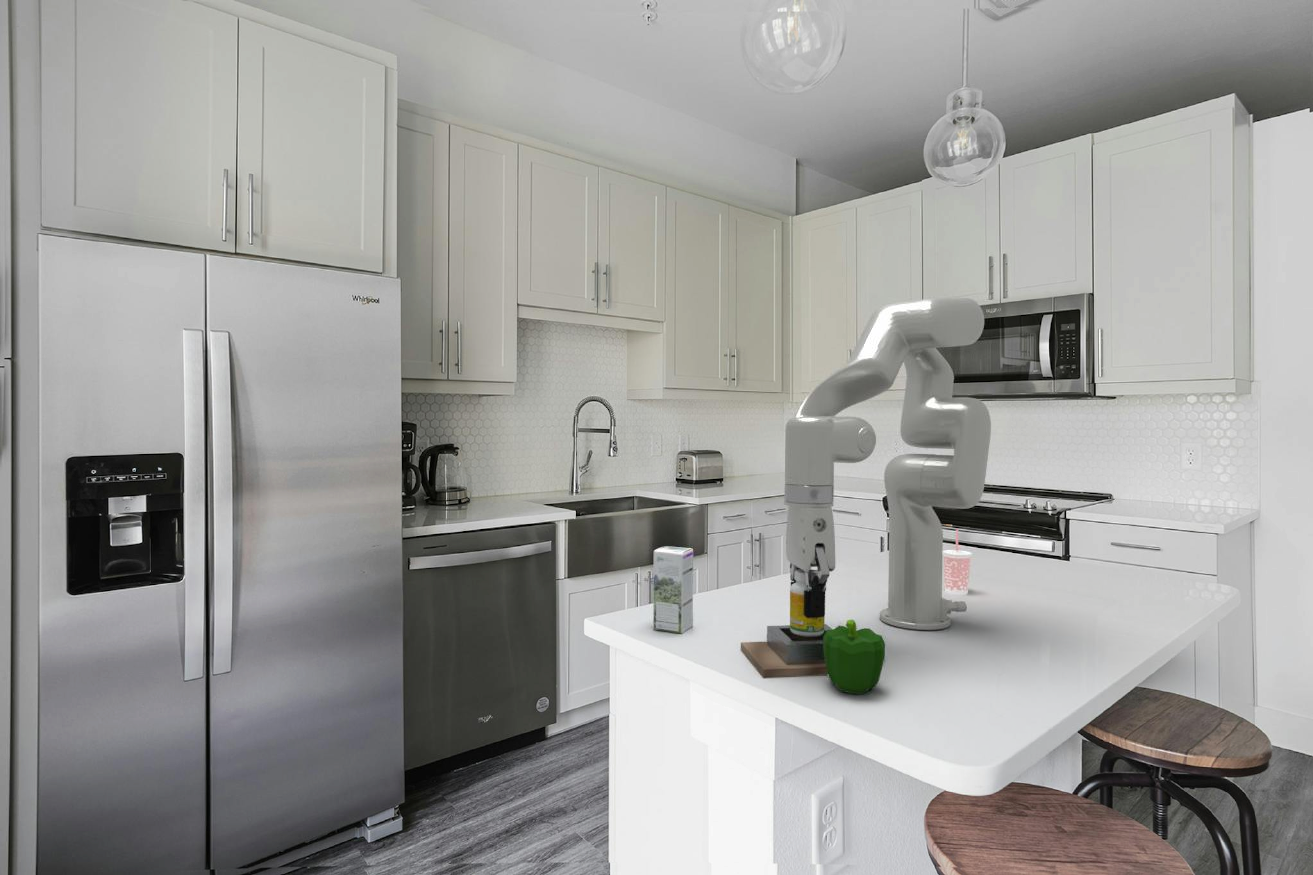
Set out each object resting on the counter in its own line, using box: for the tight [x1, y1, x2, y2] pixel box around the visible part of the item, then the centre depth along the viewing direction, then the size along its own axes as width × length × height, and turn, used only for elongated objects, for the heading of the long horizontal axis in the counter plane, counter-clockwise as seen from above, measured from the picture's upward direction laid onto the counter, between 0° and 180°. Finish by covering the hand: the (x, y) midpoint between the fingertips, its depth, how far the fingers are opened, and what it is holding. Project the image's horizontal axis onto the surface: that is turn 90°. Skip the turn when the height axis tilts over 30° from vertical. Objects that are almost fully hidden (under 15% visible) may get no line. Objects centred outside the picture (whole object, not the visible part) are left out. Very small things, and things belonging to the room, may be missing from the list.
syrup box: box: [652, 545, 694, 634], centre depth 129 cm, size 6×6×14 cm
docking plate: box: [740, 640, 828, 679], centre depth 112 cm, size 18×13×1 cm
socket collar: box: [766, 623, 834, 665], centre depth 112 cm, size 10×10×3 cm
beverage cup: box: [943, 529, 973, 596], centre depth 158 cm, size 6×6×14 cm
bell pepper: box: [823, 619, 886, 695], centre depth 100 cm, size 8×8×10 cm
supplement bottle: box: [789, 568, 826, 637], centre depth 111 cm, size 5×5×10 cm
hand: (807, 610), depth 111 cm, fingers closed on supplement bottle, 5 cm apart
